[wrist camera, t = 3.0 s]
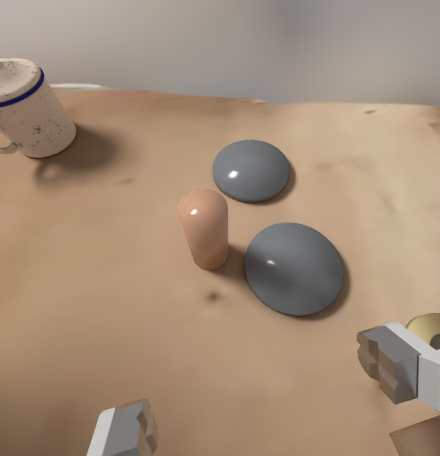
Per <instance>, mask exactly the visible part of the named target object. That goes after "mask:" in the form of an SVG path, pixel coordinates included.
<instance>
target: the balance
mask: <svg viewBox="0 0 440 456" xmlns="http://www.w3.org/2000/svg"><path fill="white" fill-rule="evenodd" d="M406 329H408V330H409V331H410V332H412V333H413V334H414V335H416V336H417V337H419V338H420V339H421V340H423V341H424V342H426V343H427V344H428V345H430V346H431V347H432V348H434V349H435V350H439V349H440V314H439V313H430V314H425V315H421V316H418V317H416V318H414V319H412V320H411V321H410V322H409V323H408V324H407V326H406ZM389 434H390V436H391V438H392V440H393V442H394V445H395V447H396V449H397V451H398V453H399V455H400V456H440V416H437V417H434V418H431V419H429V420H426V421H423V422H420V423H417V424H415V425H412V426H409V427H406V428H403V429H401V430H398V431H395V432H392V433H389Z"/></svg>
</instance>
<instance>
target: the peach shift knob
mask: <svg viewBox="0 0 440 456" xmlns="http://www.w3.org/2000/svg"><path fill="white" fill-rule="evenodd" d="M178 214H179V218H180V221H181V224H182V227H183V230H184V233H185V236H186V239H187V242H188V245H189V248H190V250H191V253H192V256H193V259H194V262H195V263H196V264H197V266H199V267H200V268H202V269H204V270H215V269H218V268H220V267H221V266H223V265H224V264H225V262H226V260H227V258H228V206H227V203H226V200H225V199H224V197H223V196H222V195H221V194H219V193H217V192H216V191H213V190H209V189H200V190H196V191H193V192H191V193H189V194H187V195H186V196H185V197H184V198H183V199H182V201H181V202H180V204H179V208H178Z"/></svg>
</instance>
